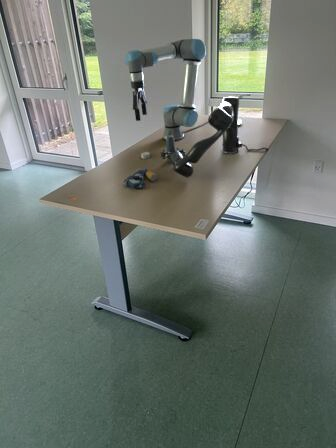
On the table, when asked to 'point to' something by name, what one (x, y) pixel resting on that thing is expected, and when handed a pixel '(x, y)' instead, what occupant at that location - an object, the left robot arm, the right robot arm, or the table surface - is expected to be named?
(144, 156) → the lid
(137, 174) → the spray gun
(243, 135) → the table surface
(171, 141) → the bottle
